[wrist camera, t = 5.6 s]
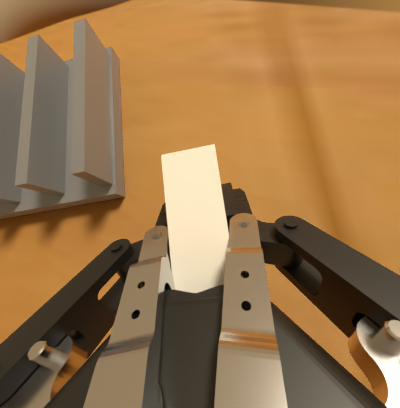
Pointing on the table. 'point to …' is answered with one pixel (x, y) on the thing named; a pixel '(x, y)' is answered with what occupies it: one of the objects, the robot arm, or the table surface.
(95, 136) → the dish rack
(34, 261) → the table surface
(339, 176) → the table surface
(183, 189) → the tall cream block
